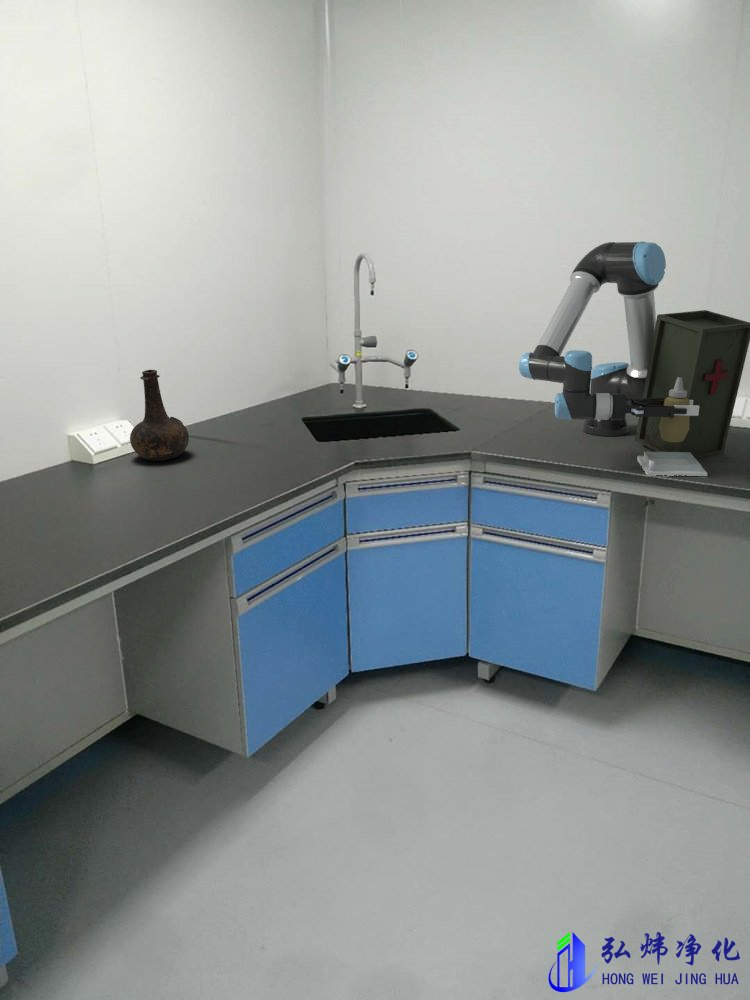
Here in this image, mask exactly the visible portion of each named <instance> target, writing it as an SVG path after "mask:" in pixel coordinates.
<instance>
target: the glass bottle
mask: <svg viewBox="0 0 750 1000" xmlns="http://www.w3.org/2000/svg"><path fill="white" fill-rule="evenodd" d="M141 374H142V375H141V376H140V380H143V390H144V391H143V392H144V417H143V420H142V421H140V422H139V423H137V424H136V425H135V426H134V427H133V428H132V430H131V432H130V435H129V443H130V445H131V448H132V449H133V450H134V452H135V453H136V454H137V455H138V456H140V458H143V459H144V460H147V461H152V462H161V461H164V462H165V461H170V460H172V459H173V460H174V459H175V458H177V457H179V456H180V455H182V454H183V453H184V451H185V450H186V449H187V447H188V444H189V440H190V437H189V436H190V435H189V431H188V429H187V427H186V426H185V425H184V424H183V421H182V420H180V419H179V418H178V417H177V418H176V417H174V416H169V415H168V413H167V412H166V409H165V405H164V402H163V400H162V395H161V394H162V393H161V389H160V385H159V379H158V378H160V377H161V375H159V374H158V371H157V370H156V369H146V370H144V371H142V372H141Z"/></svg>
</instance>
